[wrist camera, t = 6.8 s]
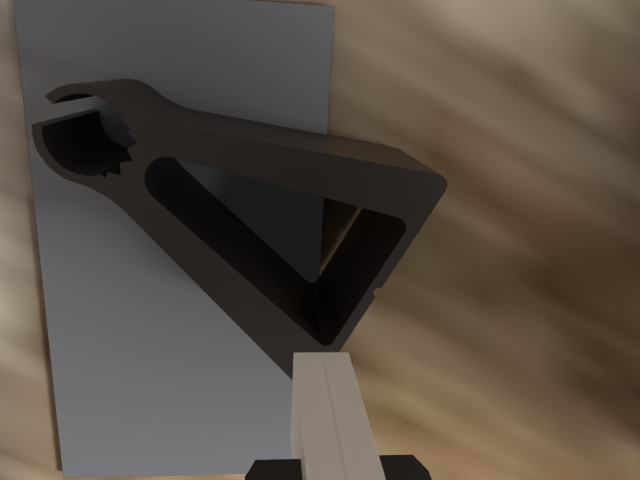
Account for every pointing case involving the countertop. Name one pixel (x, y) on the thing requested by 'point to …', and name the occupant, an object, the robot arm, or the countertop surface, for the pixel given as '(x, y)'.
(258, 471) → the robot arm
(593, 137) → the countertop surface
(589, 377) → the countertop surface
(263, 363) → the mat
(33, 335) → the countertop surface
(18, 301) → the countertop surface
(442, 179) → the phone stand
